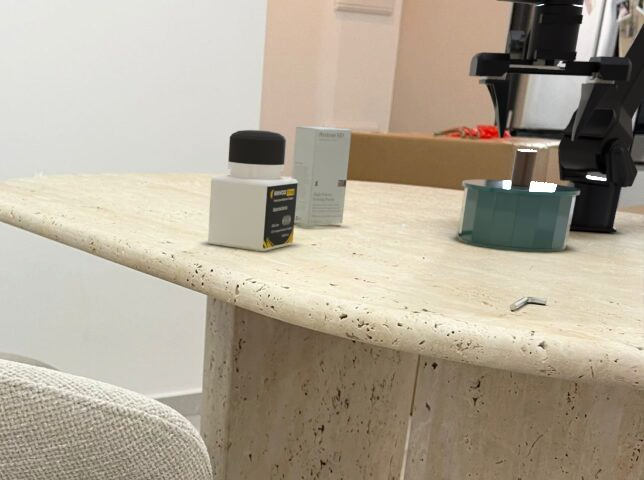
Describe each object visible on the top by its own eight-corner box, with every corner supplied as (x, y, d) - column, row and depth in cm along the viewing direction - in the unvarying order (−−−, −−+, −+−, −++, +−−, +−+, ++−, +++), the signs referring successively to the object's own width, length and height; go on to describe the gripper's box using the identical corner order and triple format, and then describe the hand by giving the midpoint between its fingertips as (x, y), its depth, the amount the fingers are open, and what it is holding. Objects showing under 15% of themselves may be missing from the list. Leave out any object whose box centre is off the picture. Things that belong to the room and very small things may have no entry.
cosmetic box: (307, 228, 119) (316, 127, 115) (285, 223, 123) (293, 125, 119) (344, 227, 123) (354, 128, 118) (321, 222, 126) (330, 126, 122)
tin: (552, 239, 121) (561, 187, 119) (576, 254, 109) (587, 198, 107) (452, 232, 122) (459, 181, 120) (465, 247, 111) (474, 191, 108)
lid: (563, 192, 119) (571, 150, 118) (592, 204, 107) (601, 157, 105) (454, 186, 121) (460, 144, 119) (469, 196, 108) (476, 150, 106)
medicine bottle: (263, 252, 100) (272, 133, 96) (206, 243, 104) (212, 128, 100) (293, 245, 106) (303, 132, 102) (238, 237, 110) (245, 128, 105)
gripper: (616, 13, 124) (593, 139, 129) (470, 9, 125) (454, 133, 131) (644, 7, 113) (618, 143, 119) (486, 2, 115) (467, 137, 120)
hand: (537, 139), depth 123 cm, fingers open, 9 cm apart
